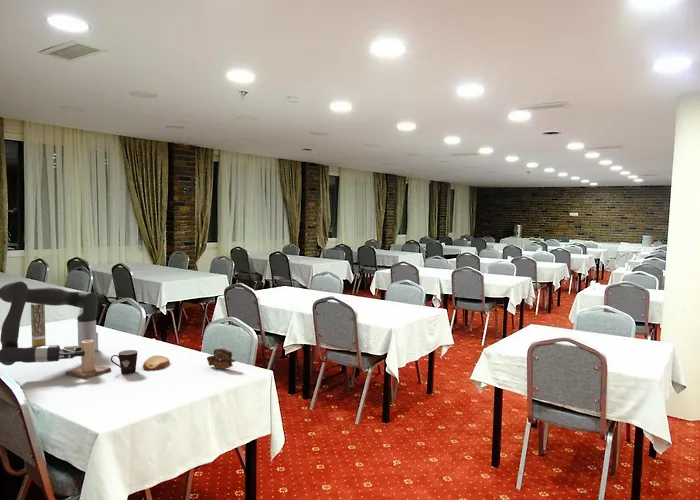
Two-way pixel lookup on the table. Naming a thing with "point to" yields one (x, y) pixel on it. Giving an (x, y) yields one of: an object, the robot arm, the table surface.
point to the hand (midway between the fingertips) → (85, 351)
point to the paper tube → (38, 324)
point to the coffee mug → (127, 361)
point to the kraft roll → (88, 355)
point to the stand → (88, 372)
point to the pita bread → (155, 363)
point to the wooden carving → (221, 359)
